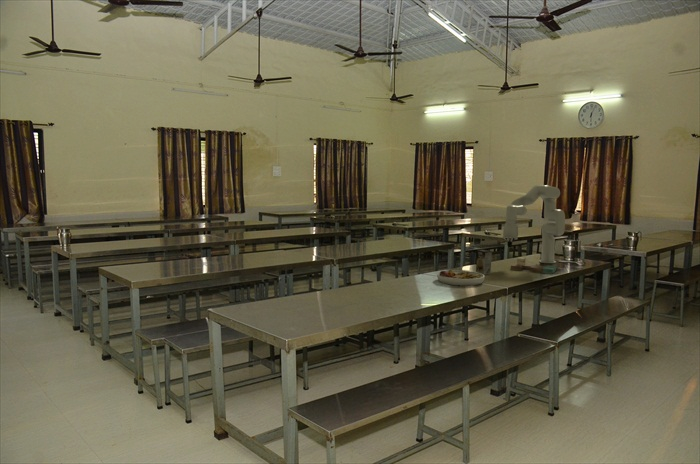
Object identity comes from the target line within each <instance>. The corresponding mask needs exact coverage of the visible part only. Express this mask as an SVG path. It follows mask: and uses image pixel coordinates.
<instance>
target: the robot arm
mask: <svg viewBox="0 0 700 464" xmlns="http://www.w3.org/2000/svg"><path fill="white" fill-rule="evenodd" d="M560 196H561V191H560V188H558V187H555V186H551V185H548V184H546V185H545V184H544V185H543V184H537V185H534V186H532V187H531V189H530V190H528V192H526V194H525V195H522V196H520V197H518V198H516V199H514V200H513V201H511V203H510V204H509V205H507V206H506V211H505V213H506V214H505V223H504V226H503V231H502V239H504V240H506V242H507V247H508V248H512V246H513V242H514V241H515V240H518V239H519V238H518V237H519V228H518V227H519V225H518V223H519V220H517V217H518V216H519V217H520V216H521V217H522V216H525V215H526V214H527V212H528V211H527V206H530V205H532V204H534V203H535V202H536V201H537V200H538V199H539V198H541V199H542V200H543V203H544V204H543V205H544V207H543V208H544V209H543V217H544V220H545V221H547V222H544V223H542V225H541V237H542V240H541V242H542V243H541V255H540V256H541V259H538V261H539V262H540V263H543V264H557V261H556V260H555V249H556V248H555V247H556V239H555V236H557V237H561V236H562V235H564V233H565V227H566V214H565V212H564V210H562V209H557V203H556V200H555V199H558V198H559V197H560Z"/></svg>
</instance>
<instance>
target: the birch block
mask: <svg viewBox="0 0 700 464" xmlns="http://www.w3.org/2000/svg"><path fill="white" fill-rule="evenodd" d="M516 262H517V265H525V263H526V257H521V256H520V257H517V258H516Z"/></svg>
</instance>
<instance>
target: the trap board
mask: <svg viewBox="0 0 700 464" xmlns="http://www.w3.org/2000/svg"><path fill="white" fill-rule="evenodd" d="M557 267H558V266H557V265H548V264H545V265H538V264H537V263H529V262H528V263H527V262H525V265H517V261H516V262H514V263H513V264H511V265H510V271H511V270H512V271H519V272H531V273H540V274H541V273H542V274H550V275H551V274H554V273H555V272H556V271H557Z"/></svg>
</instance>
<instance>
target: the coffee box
mask: <svg viewBox="0 0 700 464" xmlns="http://www.w3.org/2000/svg"><path fill="white" fill-rule="evenodd" d="M492 254H493V250H492V251H490V250H487V249H476V260H475V261H476V262H475V263H476V267H475V272H477V273H481V274H483V275H491V273H492V258H493V257H492V256H493V255H492Z"/></svg>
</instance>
